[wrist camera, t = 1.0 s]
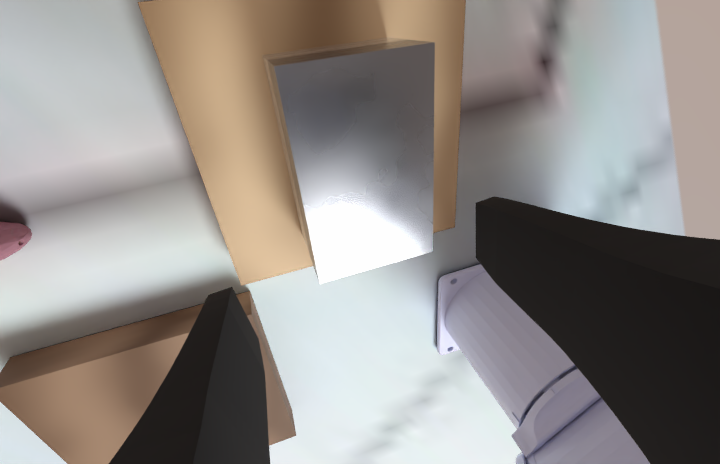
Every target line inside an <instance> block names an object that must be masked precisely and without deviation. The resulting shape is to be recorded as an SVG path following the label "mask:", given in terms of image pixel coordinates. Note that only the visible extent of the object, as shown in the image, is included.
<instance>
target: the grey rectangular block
mask: <svg viewBox="0 0 720 464" xmlns="http://www.w3.org/2000/svg"><path fill="white" fill-rule="evenodd" d="M262 57H263V61H264V66H265V70H266V75H267V79H268V84H269V88H270V92H271V97H272V101H273V106H274V110H275V115H276V119H277V124H278V128H279V133H280V137H281V142H282V146H283V151H284V155H285V160H286V164H287V168H288V173H289V177H290V182H291V186H292V191H293V195H294V200H295V204H296V209H297V213H298V218H299V222H300V227H301V231H302V235H303V238H304V241H305V244H306V246H307V249H308V252H309V255H310V258H311V260H312V263H313V266H314V269H315V272H316V274H317V277H318V280H319V283H320V284H321V283H325V282H328V281H332V280H335V279H339V278H342V277H346V276H349V275H353V274H356V273H360V272H363V271H367V270H370V269H374V268H377V267H381V266H384V265H388V264H391V263H395V262H398V261H402V260H405V259H409V258H412V257H416V256H419V255H423V254H426V253H430V252H433V187H434V82H435V42H428V41H418V40H408V39H398V38H388V37H386V38H379V39H372V40H365V41H358V42H351V43H344V44H337V45H330V46H323V47H316V48H309V49H302V50H295V51H288V52H281V53H274V54H267V55H262Z"/></svg>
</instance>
